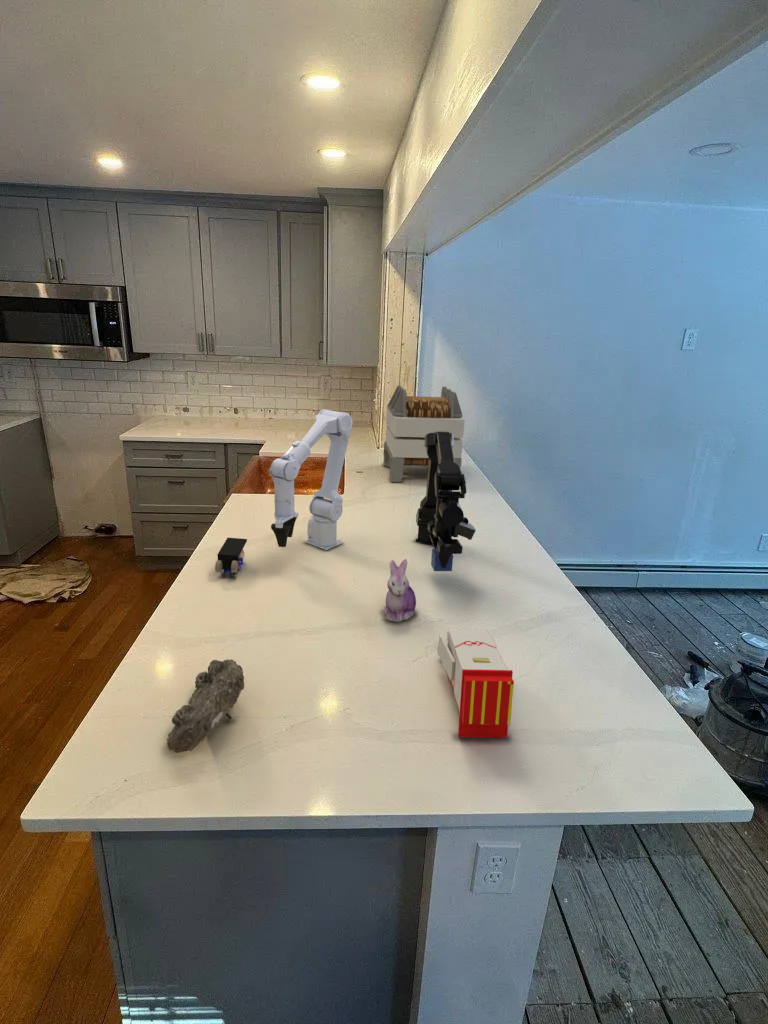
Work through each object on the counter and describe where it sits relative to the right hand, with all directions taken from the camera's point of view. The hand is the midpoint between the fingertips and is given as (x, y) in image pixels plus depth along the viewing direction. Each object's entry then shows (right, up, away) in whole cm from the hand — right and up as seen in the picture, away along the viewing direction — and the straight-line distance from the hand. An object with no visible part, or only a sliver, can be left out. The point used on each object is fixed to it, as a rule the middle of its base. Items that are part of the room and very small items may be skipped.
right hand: (441, 564), depth 163 cm
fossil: (-49, -24, -55) cm, 78 cm away
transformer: (+1, +34, +112) cm, 117 cm away
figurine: (-13, -12, -15) cm, 23 cm away
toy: (+1, -23, -44) cm, 50 cm away
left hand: (-47, +6, +9) cm, 48 cm away
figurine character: (-62, -2, +5) cm, 62 cm away
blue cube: (0, -1, 0) cm, 1 cm away
